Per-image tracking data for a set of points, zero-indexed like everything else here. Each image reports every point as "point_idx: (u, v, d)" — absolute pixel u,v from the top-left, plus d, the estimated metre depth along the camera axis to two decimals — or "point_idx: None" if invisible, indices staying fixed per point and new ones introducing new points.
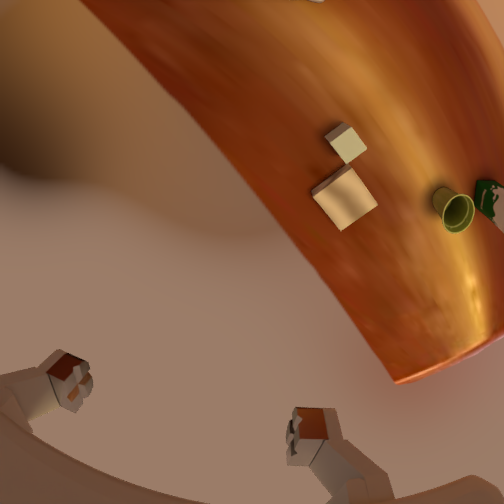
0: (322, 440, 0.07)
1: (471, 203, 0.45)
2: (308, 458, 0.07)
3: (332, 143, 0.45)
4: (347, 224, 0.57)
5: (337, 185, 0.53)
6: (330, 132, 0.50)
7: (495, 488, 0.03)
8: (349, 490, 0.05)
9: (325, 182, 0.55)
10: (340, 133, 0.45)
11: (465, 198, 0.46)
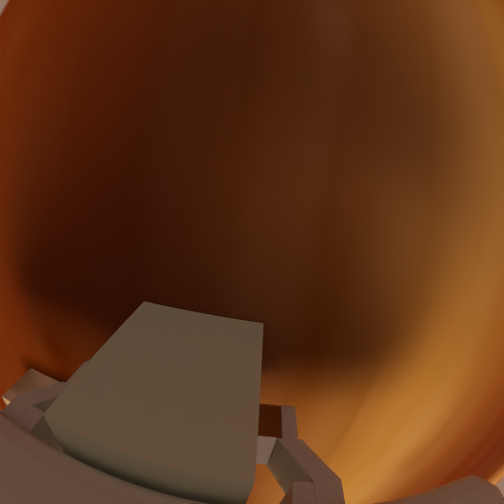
0: (277, 438, 0.07)
1: None
2: (265, 456, 0.07)
3: (57, 428, 0.04)
4: None
5: None
6: (174, 313, 0.10)
7: (495, 488, 0.03)
8: (295, 493, 0.05)
9: None
10: (154, 430, 0.05)
11: None
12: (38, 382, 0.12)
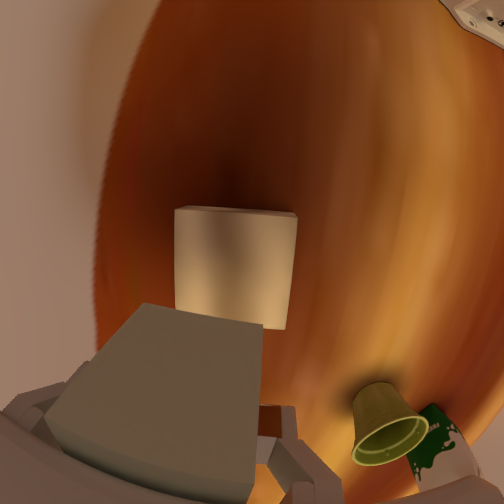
0: (276, 438, 0.07)
1: (419, 437, 0.23)
2: (265, 456, 0.07)
3: (57, 430, 0.04)
4: None
5: (238, 226, 0.22)
6: (174, 315, 0.10)
7: (495, 488, 0.03)
8: (295, 493, 0.05)
9: (224, 208, 0.24)
10: (154, 432, 0.05)
11: (416, 424, 0.24)
12: (200, 207, 0.25)
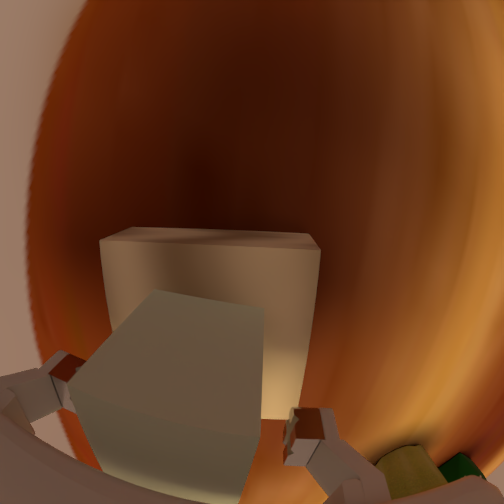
0: (319, 440, 0.07)
1: None
2: (305, 457, 0.07)
3: (78, 398, 0.05)
4: None
5: (208, 269, 0.12)
6: (183, 299, 0.12)
7: (495, 488, 0.03)
8: (345, 490, 0.05)
9: (186, 232, 0.14)
10: (170, 395, 0.06)
11: None
12: (150, 230, 0.14)
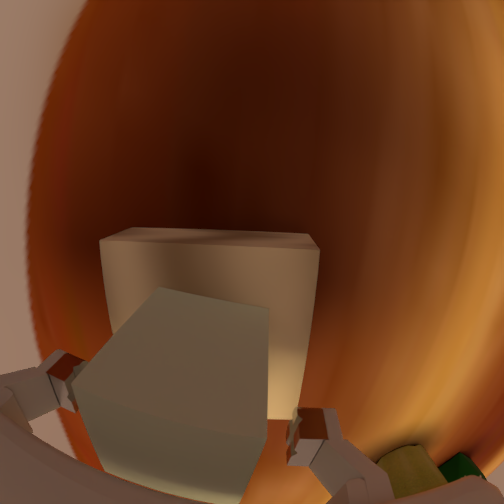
0: (322, 440, 0.07)
1: None
2: (308, 458, 0.07)
3: (83, 397, 0.05)
4: None
5: (207, 269, 0.12)
6: (187, 298, 0.12)
7: (495, 488, 0.03)
8: (349, 490, 0.05)
9: (186, 232, 0.14)
10: (176, 395, 0.06)
11: None
12: (149, 230, 0.14)
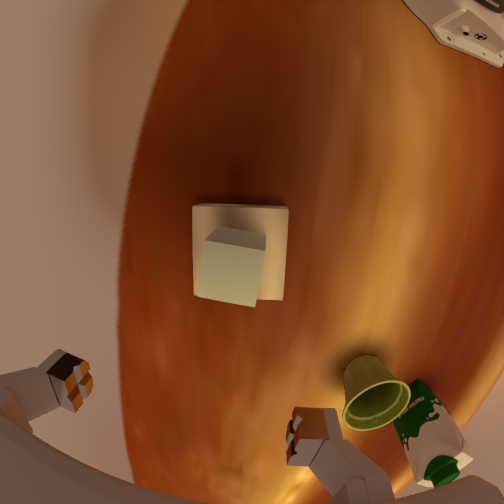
0: (322, 440, 0.07)
1: (403, 404, 0.29)
2: (308, 458, 0.07)
3: (207, 245, 0.22)
4: None
5: (243, 217, 0.29)
6: (232, 229, 0.29)
7: (495, 488, 0.03)
8: (349, 490, 0.05)
9: None
10: (238, 243, 0.23)
11: (400, 392, 0.30)
12: (211, 204, 0.31)
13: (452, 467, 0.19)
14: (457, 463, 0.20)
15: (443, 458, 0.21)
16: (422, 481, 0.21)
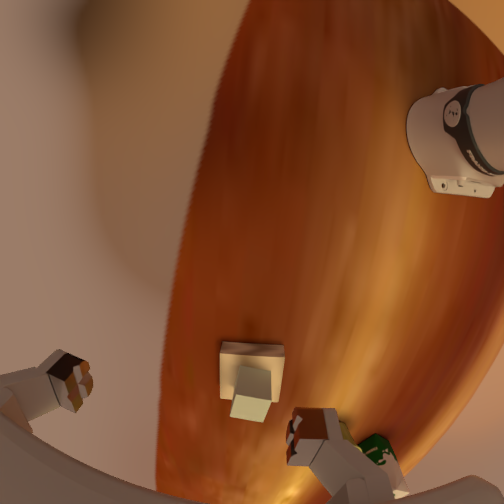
0: (322, 440, 0.07)
1: None
2: (308, 458, 0.07)
3: (237, 396, 0.35)
4: None
5: (254, 361, 0.41)
6: (249, 369, 0.41)
7: (495, 488, 0.03)
8: (349, 490, 0.05)
9: (244, 346, 0.43)
10: (255, 393, 0.35)
11: None
12: (231, 344, 0.43)
13: None
14: (395, 495, 0.33)
15: None
16: None
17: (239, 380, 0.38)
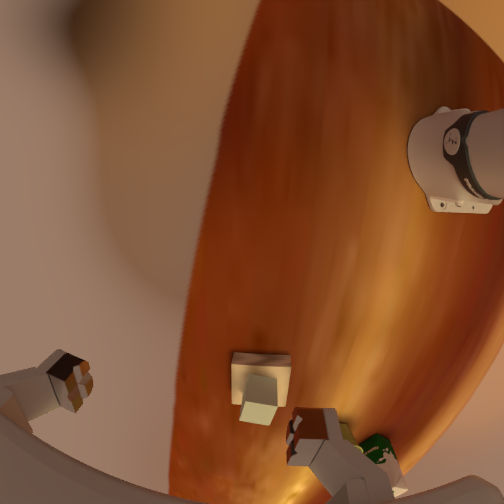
0: (323, 440, 0.07)
1: None
2: (308, 458, 0.07)
3: (247, 403, 0.38)
4: None
5: (263, 371, 0.44)
6: (257, 376, 0.44)
7: (495, 488, 0.03)
8: (349, 490, 0.05)
9: (254, 357, 0.46)
10: (263, 400, 0.39)
11: (357, 448, 0.45)
12: (242, 355, 0.47)
13: None
14: (394, 492, 0.36)
15: None
16: None
17: (248, 388, 0.41)
